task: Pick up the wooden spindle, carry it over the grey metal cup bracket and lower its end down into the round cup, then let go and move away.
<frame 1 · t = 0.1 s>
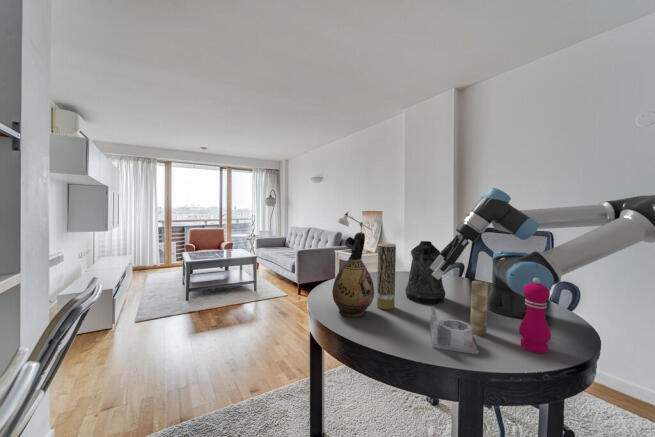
hand: (433, 273, 104), 15 cm above the table, tool tilted 35°, fingers open, 13 cm apart
pepper mill: (533, 348, 79), on the table
cup bracket: (454, 341, 82), on the table
ceramic jug: (353, 312, 105), on the table
paper tube: (385, 307, 111), on the table
wooden spindle: (478, 332, 89), on the table
black tapered vessel: (426, 299, 121), on the table
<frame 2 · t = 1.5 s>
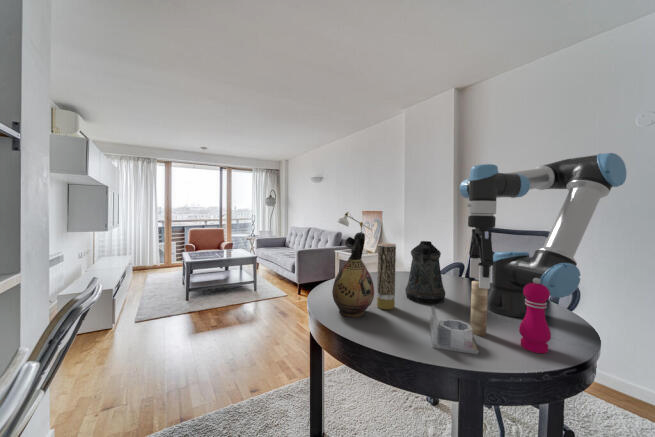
hand: (478, 282, 88), 16 cm above the table, tool pointing down, fingers open, 13 cm apart
nothing on the table moved.
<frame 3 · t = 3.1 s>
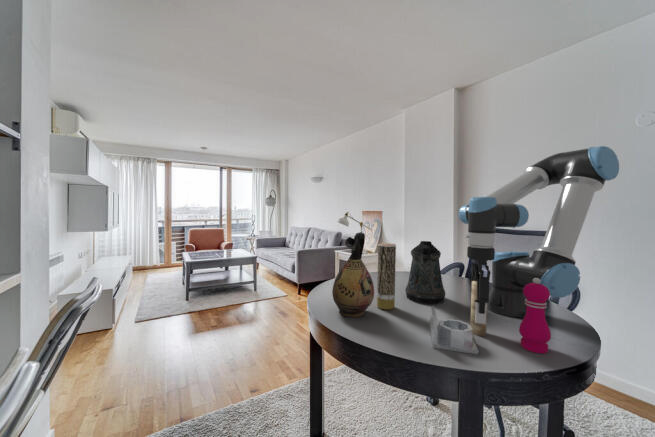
hand: (478, 319, 89), 4 cm above the table, tool pointing down, fingers closed on wooden spindle, 4 cm apart
wooden spindle: (478, 332, 89), on the table, touching gripper
everything else where it was.
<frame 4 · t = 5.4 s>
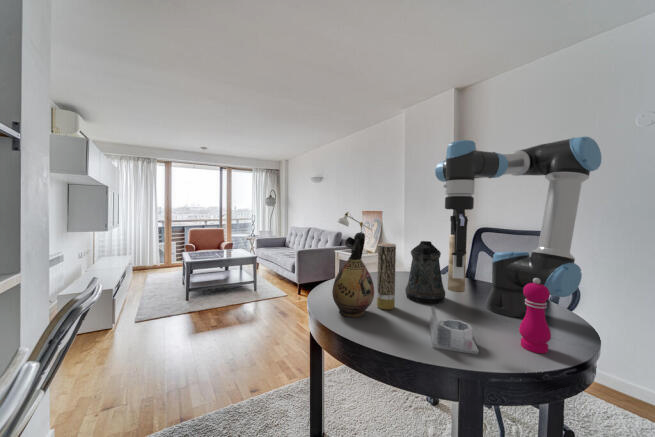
hand: (456, 275, 82), 20 cm above the table, tool pointing down, fingers closed on wooden spindle, 4 cm apart
wooden spindle: (456, 290, 82), point 15 cm above the table, touching gripper
everything else where it was.
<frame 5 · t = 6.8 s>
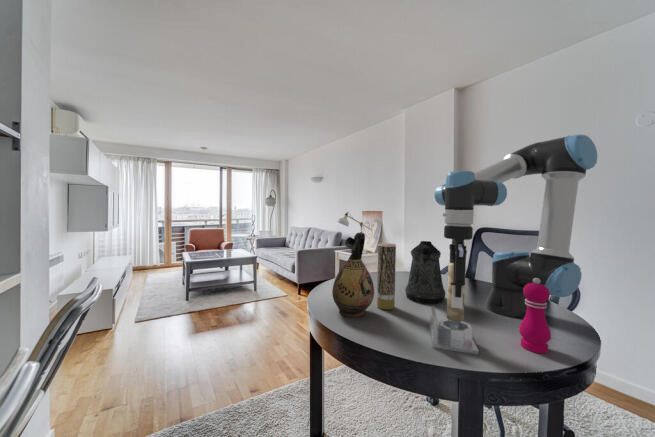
hand: (455, 304, 82), 11 cm above the table, tool pointing down, fingers closed on wooden spindle, 4 cm apart
wooden spindle: (455, 318, 82), point 7 cm above the table, touching gripper
everything else where it was.
when the fingers open (8 cm above the table, at t = 7.7 s): wooden spindle drops 2 cm, resting on cup bracket.
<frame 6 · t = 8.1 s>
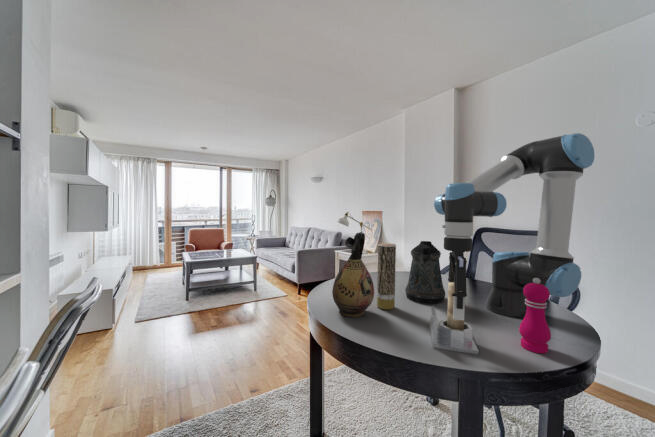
hand: (455, 312, 82), 9 cm above the table, tool pointing down, fingers open, 9 cm apart
wooden spindle: (454, 338, 83), point 1 cm above the table, touching cup bracket
everything else where it was.
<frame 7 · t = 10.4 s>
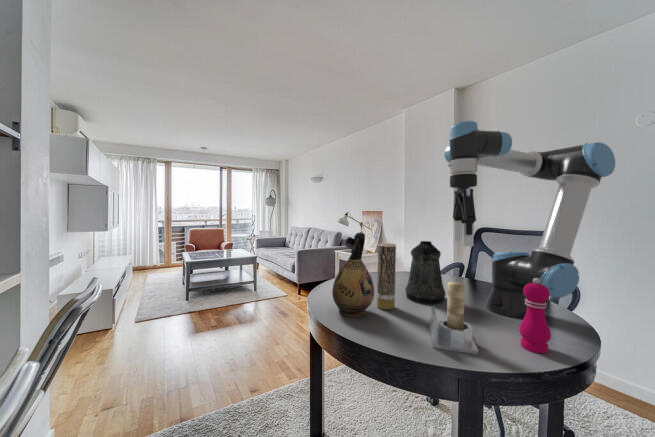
hand: (463, 243, 87), 28 cm above the table, tool pointing down, fingers open, 13 cm apart
nothing on the table moved.
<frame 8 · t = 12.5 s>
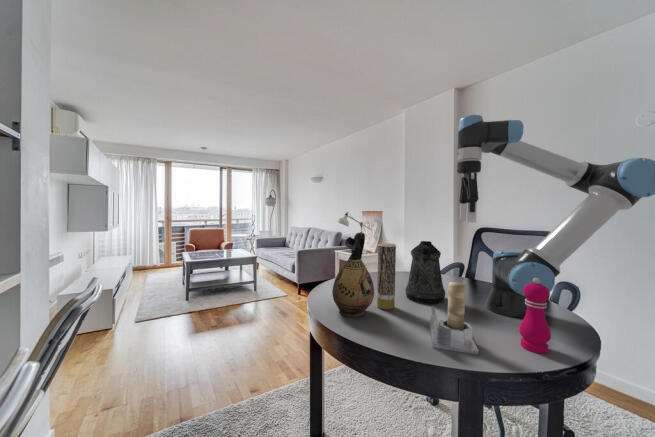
hand: (467, 221, 100), 35 cm above the table, tool pointing down, fingers open, 13 cm apart
nothing on the table moved.
at the end: wooden spindle 0.2 cm off-centre on the cup bracket, point 1.0 cm above the cup bracket's base; wooden spindle tilted 1°; the gripper is holding nothing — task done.
